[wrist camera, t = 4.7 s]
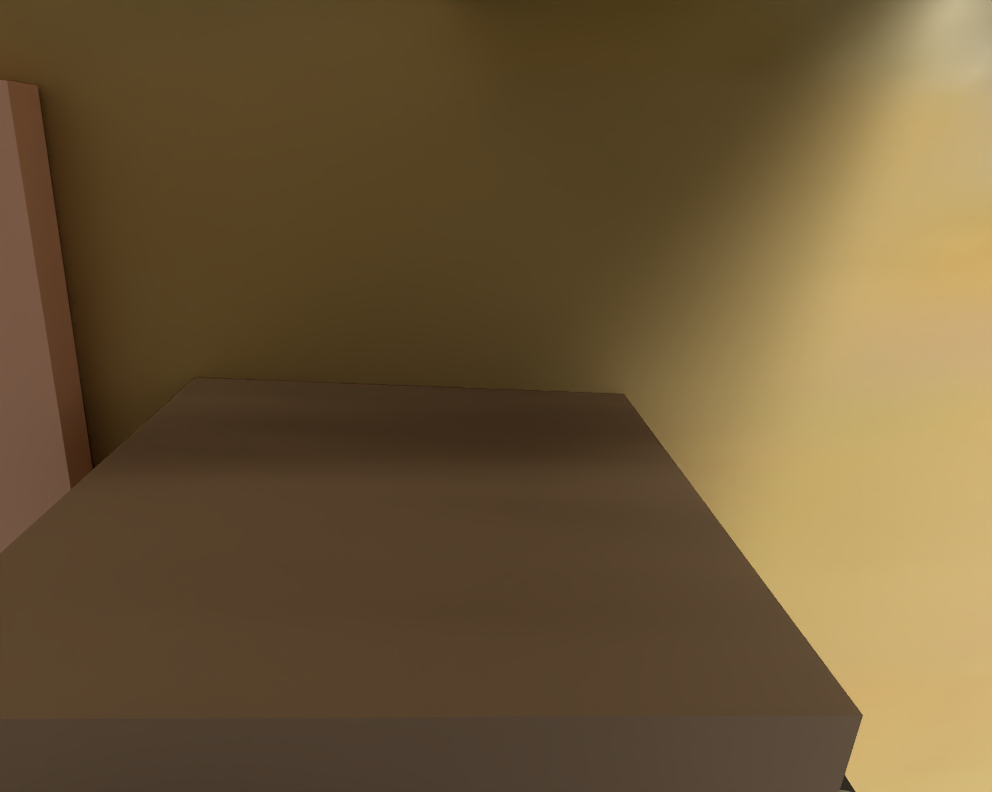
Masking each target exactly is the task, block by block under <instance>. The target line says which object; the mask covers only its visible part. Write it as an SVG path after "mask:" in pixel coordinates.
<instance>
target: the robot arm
mask: <svg viewBox="0 0 992 792" xmlns="http://www.w3.org/2000/svg"><path fill="white" fill-rule="evenodd" d="M839 792H855V790H854V789H853V787H852V786H851V784H850V783H849V781H848V779H847V778H846V776H845V775H844V778H843V781H842V784H841V787H840V791H839Z"/></svg>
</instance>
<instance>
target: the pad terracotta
mask: <svg viewBox="0 0 992 792" xmlns="http://www.w3.org/2000/svg"><path fill="white" fill-rule="evenodd" d="M92 470H93V468H92V461H91V454H90V447H89V440H88V434H87V427H86V420H85V413H84V406H83V399H82V392H81V385H80V378H79V371H78V364H77V357H76V350H75V343H74V336H73V329H72V322H71V315H70V308H69V301H68V294H67V287H66V280H65V273H64V266H63V259H62V252H61V245H60V238H59V231H58V225H57V218H56V211H55V204H54V197H53V190H52V183H51V176H50V169H49V162H48V155H47V148H46V141H45V134H44V127H43V120H42V113H41V106H40V99H39V92H38V85H32V84H25V83H19V82H13V81H7V80H0V553H1V552H2V551H3V550H4V549H5V548H7V547H8V546H9V545H10V544H11V543H12V542H13V541H14V540H15V539H16V538H18V537H19V536H20V535H21V534H22V533H23V532H24V531H25V530H26V529H28V528H29V527H30V526H31V525H32V524H33V523H34V522H35V521H36V520H38V519H39V518H40V517H41V516H42V515H43V514H44V513H45V512H46V511H47V510H49V509H50V508H51V507H52V506H53V505H54V504H55V503H56V502H57V501H59V500H60V499H61V498H62V497H63V496H64V495H65V494H66V493H67V492H69V491H70V490H71V489H72V488H73V487H74V486H75V485H76V484H77V483H78V482H80V481H81V480H82V479H83V478H84V477H85V476H86V475H87V474H88V473H90V472H91V471H92Z"/></svg>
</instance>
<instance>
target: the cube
mask: <svg viewBox="0 0 992 792" xmlns="http://www.w3.org/2000/svg"><path fill="white" fill-rule="evenodd" d="M862 716H863V715H862V714H861V712H860V711H859V710H858V708H857V707H856V705H855V704H854V703H853V701H852V700H851V699H850V697H849V696H848V695H847V693H846V692H845V691H844V689H843V688H842V687H841V685H840V684H839V683H838V681H837V680H836V679H835V677H834V676H833V675H832V673H831V672H830V671H829V669H828V668H827V666H826V665H825V664H824V662H823V661H822V660H821V658H820V657H819V656H818V654H817V653H816V652H815V650H814V649H813V648H812V646H811V645H810V644H809V642H808V641H807V640H806V638H805V637H804V636H803V634H802V633H801V632H800V630H799V629H798V628H797V626H796V625H795V623H794V622H793V621H792V619H791V618H790V617H789V615H788V614H787V613H786V611H785V610H784V609H783V607H782V606H781V605H780V603H779V602H778V601H777V599H776V598H775V597H774V595H773V594H772V593H771V591H770V590H769V589H768V587H767V586H766V584H765V583H764V582H763V580H762V579H761V578H760V576H759V575H758V574H757V572H756V571H755V570H754V568H753V567H752V566H751V564H750V563H749V562H748V560H747V559H746V558H745V556H744V555H743V554H742V552H741V551H740V550H739V548H738V547H737V546H736V544H735V543H734V541H733V540H732V539H731V537H730V536H729V535H728V533H727V532H726V531H725V529H724V528H723V527H722V525H721V524H720V523H719V521H718V520H717V519H716V517H715V516H714V515H713V513H712V512H711V511H710V509H709V508H708V507H707V505H706V504H705V502H704V501H703V500H702V498H701V497H700V496H699V494H698V493H697V492H696V490H695V489H694V488H693V486H692V485H691V484H690V482H689V481H688V480H687V478H686V477H685V476H684V474H683V473H682V472H681V470H680V469H679V468H678V466H677V465H676V464H675V462H674V461H673V459H672V458H671V457H670V455H669V454H668V453H667V451H666V450H665V449H664V447H663V446H662V445H661V443H660V442H659V441H658V439H657V438H656V437H655V435H654V434H653V433H652V431H651V430H650V429H649V427H648V426H647V425H646V423H645V422H644V420H643V419H642V418H641V416H640V415H639V414H638V412H637V411H636V410H635V408H634V407H633V406H632V404H631V403H630V402H629V400H628V399H627V398H626V396H625V395H624V394H610V393H584V392H557V391H531V390H505V389H479V388H453V387H427V386H401V385H375V384H349V383H323V382H297V381H271V380H245V379H219V378H194V379H193V380H191V381H190V382H189V383H188V384H187V385H186V386H185V387H184V388H183V389H181V390H180V391H179V392H178V393H177V394H176V395H175V396H174V397H173V398H171V399H170V400H169V401H168V402H167V403H166V404H165V405H164V406H163V407H162V408H160V409H159V410H158V411H157V412H156V413H155V414H154V415H153V416H152V417H150V418H149V419H148V420H147V421H146V422H145V423H144V424H143V425H142V426H140V427H139V428H138V429H137V430H136V431H135V432H134V433H133V434H132V435H131V436H129V437H128V438H127V439H126V440H125V441H124V442H123V443H122V444H121V445H119V446H118V447H117V448H116V449H115V450H114V451H113V452H112V453H111V454H109V455H108V456H107V457H106V458H105V459H104V460H103V461H102V462H101V463H100V464H98V465H97V466H96V467H95V468H94V469H93V470H92V471H91V472H90V473H88V474H87V475H86V476H85V477H84V478H83V479H82V480H81V481H80V482H78V483H77V484H76V485H75V486H74V487H73V488H72V489H71V490H70V491H69V492H67V493H66V494H65V495H64V496H63V497H62V498H61V499H60V500H59V501H57V502H56V503H55V504H54V505H53V506H52V507H51V508H50V509H49V510H47V511H46V512H45V513H44V514H43V515H42V516H41V517H40V518H39V519H38V520H36V521H35V522H34V523H33V524H32V525H31V526H30V527H29V528H28V529H26V530H25V531H24V532H23V533H22V534H21V535H20V536H19V537H18V538H16V539H15V540H14V541H13V542H12V543H11V544H10V545H9V546H8V547H7V548H5V549H4V550H3V551H2V552H1V553H0V792H839V791H840V787H841V784H842V781H843V778H844V775H845V771H846V768H847V765H848V762H849V758H850V755H851V752H852V749H853V745H854V742H855V739H856V736H857V732H858V729H859V726H860V723H861V719H862Z"/></svg>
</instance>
